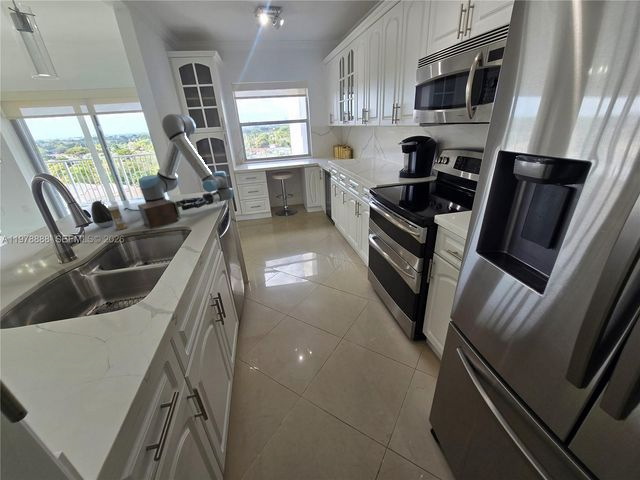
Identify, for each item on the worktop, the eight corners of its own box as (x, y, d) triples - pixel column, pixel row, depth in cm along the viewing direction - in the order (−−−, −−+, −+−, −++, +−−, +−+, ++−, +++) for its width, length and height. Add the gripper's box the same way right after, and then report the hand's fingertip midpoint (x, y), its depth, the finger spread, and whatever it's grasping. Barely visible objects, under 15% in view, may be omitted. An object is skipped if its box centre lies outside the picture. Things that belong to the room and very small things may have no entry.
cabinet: (170, 216, 161) (164, 198, 156) (178, 221, 153) (172, 202, 148) (144, 223, 151) (137, 205, 146) (151, 228, 143) (144, 208, 138)
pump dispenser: (120, 221, 158) (110, 197, 151) (114, 227, 149) (103, 201, 142) (101, 224, 155) (90, 199, 148) (93, 230, 146) (81, 204, 139)
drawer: (181, 212, 164) (177, 197, 160) (188, 216, 157) (184, 200, 153) (150, 221, 152) (144, 205, 148) (156, 225, 145) (151, 208, 141)
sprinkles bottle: (123, 229, 144) (114, 206, 138) (115, 230, 144) (105, 207, 138) (128, 226, 148) (119, 204, 143) (119, 227, 148) (110, 205, 142)
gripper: (221, 206, 164) (187, 216, 150) (203, 200, 179) (171, 208, 166) (218, 195, 161) (184, 203, 147) (201, 190, 176) (168, 197, 162)
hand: (177, 206), depth 156 cm, fingers open, 13 cm apart
